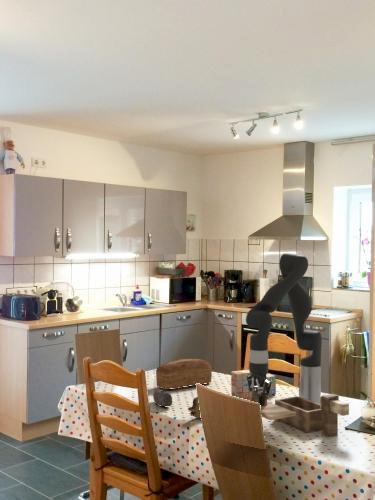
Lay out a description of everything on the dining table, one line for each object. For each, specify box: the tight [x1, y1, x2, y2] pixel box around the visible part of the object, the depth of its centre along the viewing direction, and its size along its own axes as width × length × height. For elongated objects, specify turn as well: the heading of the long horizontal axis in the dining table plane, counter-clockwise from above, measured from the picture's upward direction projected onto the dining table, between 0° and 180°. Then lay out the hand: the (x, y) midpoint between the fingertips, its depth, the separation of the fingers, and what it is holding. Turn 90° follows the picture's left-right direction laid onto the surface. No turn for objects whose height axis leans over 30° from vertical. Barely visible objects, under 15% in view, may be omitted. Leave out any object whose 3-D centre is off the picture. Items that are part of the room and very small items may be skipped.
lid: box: [251, 391, 296, 421], centre depth 217 cm, size 20×12×6 cm, turn 29°
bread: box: [155, 358, 213, 390], centre depth 289 cm, size 12×31×14 cm, turn 123°
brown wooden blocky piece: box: [274, 393, 340, 438], centre depth 222 cm, size 28×12×15 cm, turn 29°
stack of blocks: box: [230, 369, 277, 399], centre depth 269 cm, size 21×6×12 cm, turn 113°
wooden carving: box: [187, 396, 200, 419], centre depth 234 cm, size 16×5×10 cm, turn 141°
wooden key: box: [320, 397, 350, 417], centre depth 210 cm, size 12×3×4 cm, turn 29°
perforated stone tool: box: [152, 389, 173, 407], centre depth 253 cm, size 15×5×7 cm, turn 25°
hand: (258, 403), depth 221 cm, fingers closed on lid, 3 cm apart
